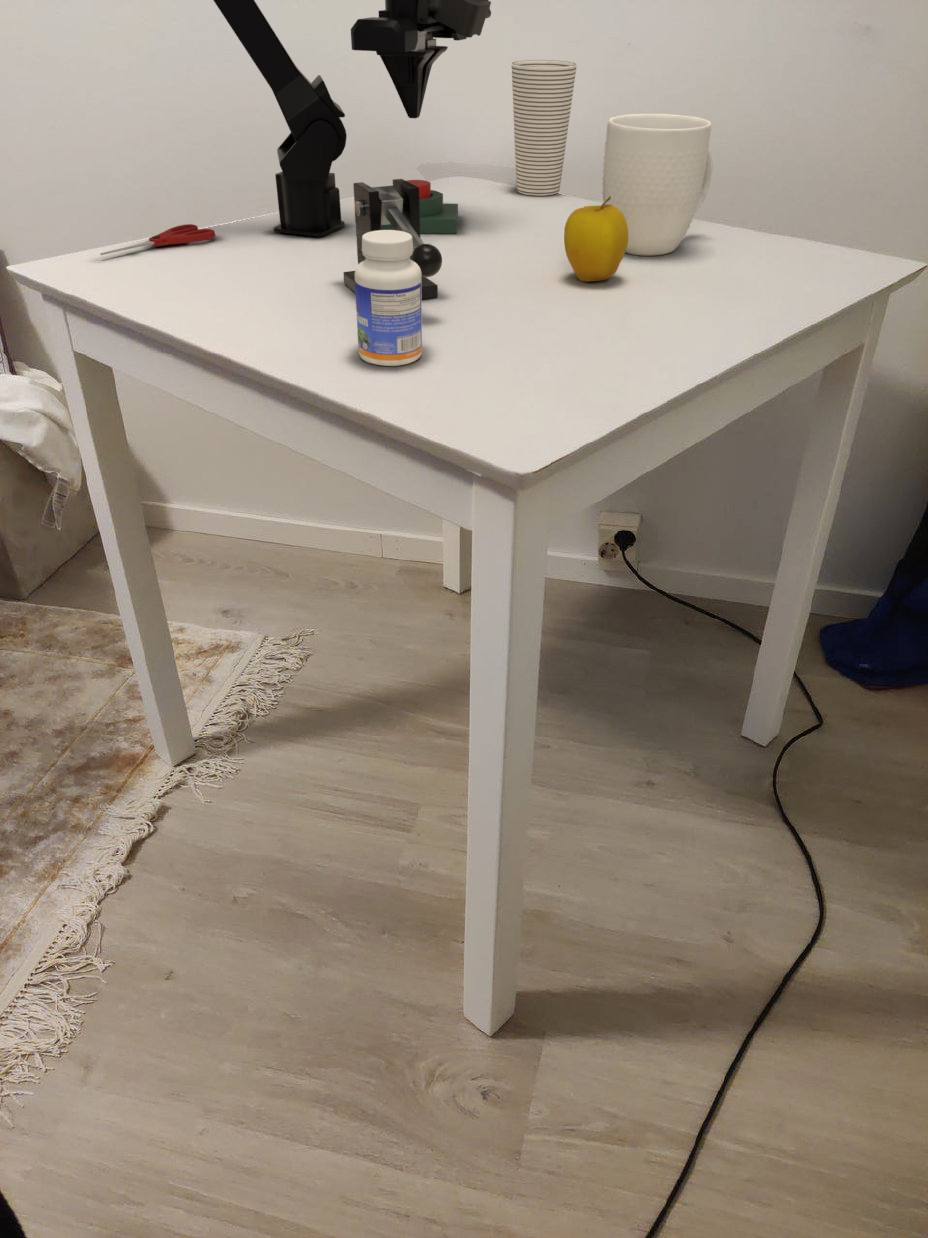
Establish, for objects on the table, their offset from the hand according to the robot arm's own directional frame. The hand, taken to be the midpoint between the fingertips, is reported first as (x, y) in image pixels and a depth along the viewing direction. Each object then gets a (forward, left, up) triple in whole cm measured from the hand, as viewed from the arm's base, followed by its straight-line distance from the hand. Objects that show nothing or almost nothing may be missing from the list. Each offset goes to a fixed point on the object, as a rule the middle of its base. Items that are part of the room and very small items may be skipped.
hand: (413, 117), depth 110 cm
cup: (+8, +24, -12) cm, 28 cm away
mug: (+29, +1, -12) cm, 31 cm away
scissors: (-23, -21, -12) cm, 33 cm away
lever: (+11, -28, -7) cm, 31 cm away
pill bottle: (+16, -42, -12) cm, 46 cm away
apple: (+26, -14, -12) cm, 32 cm away
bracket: (+8, -25, -12) cm, 29 cm away
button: (0, 0, -9) cm, 9 cm away
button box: (0, 0, -12) cm, 12 cm away
